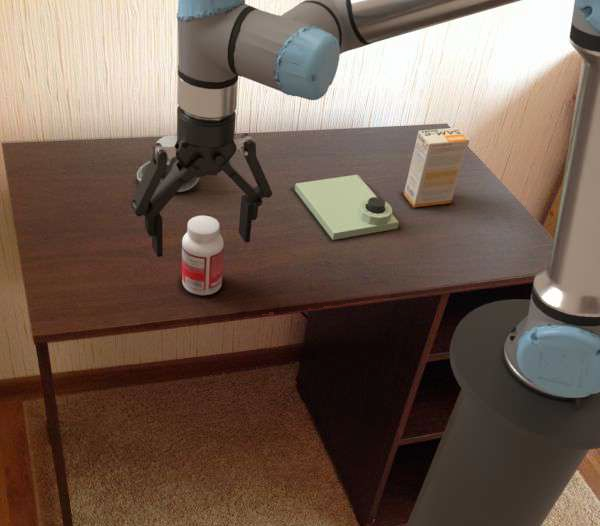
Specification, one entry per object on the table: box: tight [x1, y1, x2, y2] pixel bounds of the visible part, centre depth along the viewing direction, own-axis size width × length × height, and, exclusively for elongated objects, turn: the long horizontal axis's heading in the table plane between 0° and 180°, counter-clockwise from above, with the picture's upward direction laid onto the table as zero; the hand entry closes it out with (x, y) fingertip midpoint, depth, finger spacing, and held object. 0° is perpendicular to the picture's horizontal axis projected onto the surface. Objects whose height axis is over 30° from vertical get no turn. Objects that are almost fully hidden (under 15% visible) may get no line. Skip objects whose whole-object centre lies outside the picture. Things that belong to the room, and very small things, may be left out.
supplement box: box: [403, 127, 470, 208], centre depth 137 cm, size 8×5×13 cm, turn 111°
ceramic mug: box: [136, 134, 201, 193], centre depth 133 cm, size 11×8×8 cm
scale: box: [294, 174, 400, 241], centre depth 135 cm, size 16×13×3 cm
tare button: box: [367, 196, 386, 214], centre depth 132 cm, size 3×3×2 cm
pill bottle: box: [181, 215, 225, 296], centre depth 113 cm, size 6×6×11 cm
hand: (201, 244), depth 112 cm, fingers open, 13 cm apart
